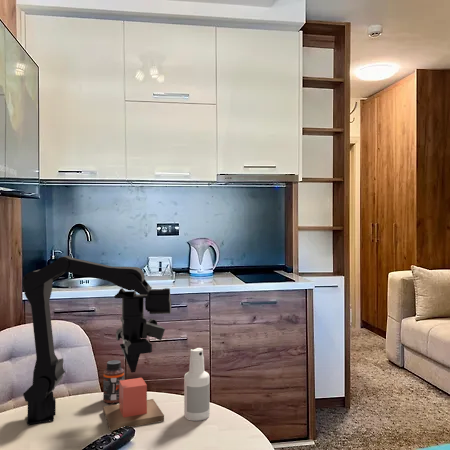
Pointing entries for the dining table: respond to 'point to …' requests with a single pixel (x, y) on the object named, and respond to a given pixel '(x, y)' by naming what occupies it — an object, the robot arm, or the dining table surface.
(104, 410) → the board
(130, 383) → the salmon foam cube
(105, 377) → the supplement bottle
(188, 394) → the spray bottle
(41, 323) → the robot arm
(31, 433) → the dining table surface
